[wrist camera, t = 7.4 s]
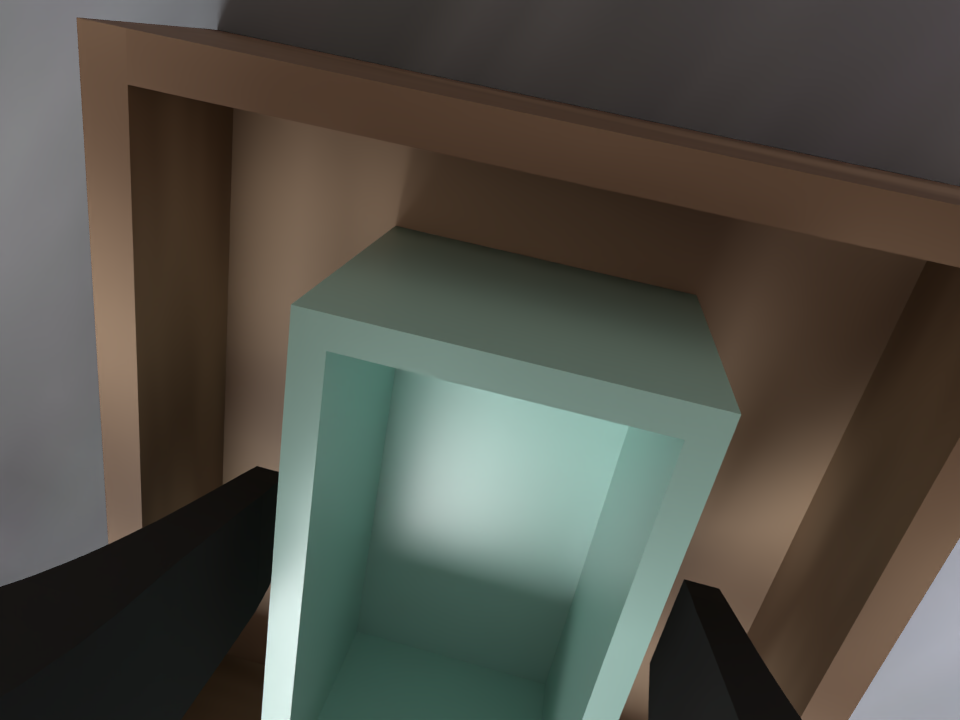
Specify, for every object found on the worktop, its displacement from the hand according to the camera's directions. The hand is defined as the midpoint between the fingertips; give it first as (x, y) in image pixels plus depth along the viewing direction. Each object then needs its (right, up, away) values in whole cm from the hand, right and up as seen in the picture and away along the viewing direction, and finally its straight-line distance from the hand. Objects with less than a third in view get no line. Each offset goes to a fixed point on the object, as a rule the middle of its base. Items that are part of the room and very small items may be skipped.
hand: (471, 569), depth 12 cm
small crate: (0, +1, +2) cm, 2 cm away
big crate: (+1, +1, +3) cm, 3 cm away
